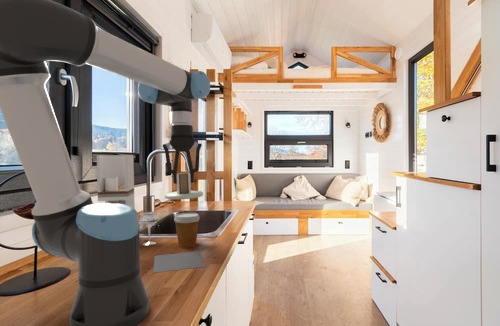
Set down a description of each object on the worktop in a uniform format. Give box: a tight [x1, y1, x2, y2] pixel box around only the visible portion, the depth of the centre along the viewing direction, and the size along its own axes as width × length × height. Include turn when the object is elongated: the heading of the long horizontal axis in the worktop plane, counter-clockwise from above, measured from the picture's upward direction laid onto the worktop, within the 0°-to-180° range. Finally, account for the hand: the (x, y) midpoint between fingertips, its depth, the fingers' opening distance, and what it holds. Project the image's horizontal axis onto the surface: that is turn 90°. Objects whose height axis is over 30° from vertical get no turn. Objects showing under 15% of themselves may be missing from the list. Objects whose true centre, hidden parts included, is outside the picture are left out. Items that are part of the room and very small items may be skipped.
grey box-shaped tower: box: [96, 154, 136, 210], centre depth 113 cm, size 11×11×35 cm
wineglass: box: [139, 211, 159, 246], centre depth 112 cm, size 7×7×12 cm
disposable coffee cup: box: [173, 212, 201, 249], centre depth 108 cm, size 10×10×12 cm
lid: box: [164, 172, 204, 200], centre depth 100 cm, size 13×13×8 cm
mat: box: [152, 250, 206, 274], centre depth 91 cm, size 15×15×1 cm
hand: (184, 192), depth 100 cm, fingers closed on lid, 3 cm apart
